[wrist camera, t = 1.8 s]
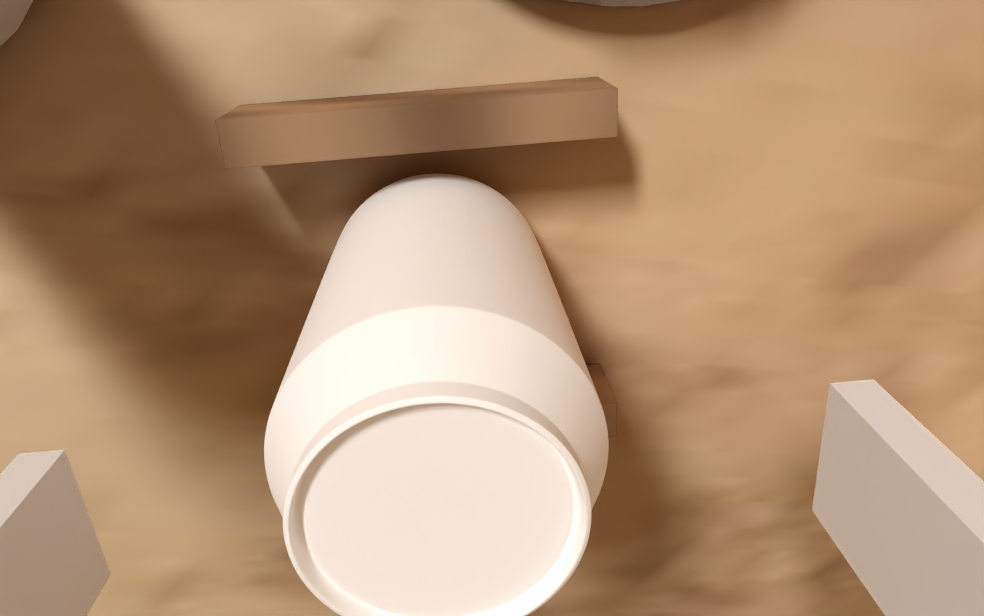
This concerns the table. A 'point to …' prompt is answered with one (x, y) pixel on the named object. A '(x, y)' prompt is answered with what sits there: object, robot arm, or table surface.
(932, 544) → the robot arm
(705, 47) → the table surface
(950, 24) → the table surface
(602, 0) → the hub collar
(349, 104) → the walnut cradle
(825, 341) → the table surface
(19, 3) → the coffee cup
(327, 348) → the beverage can
